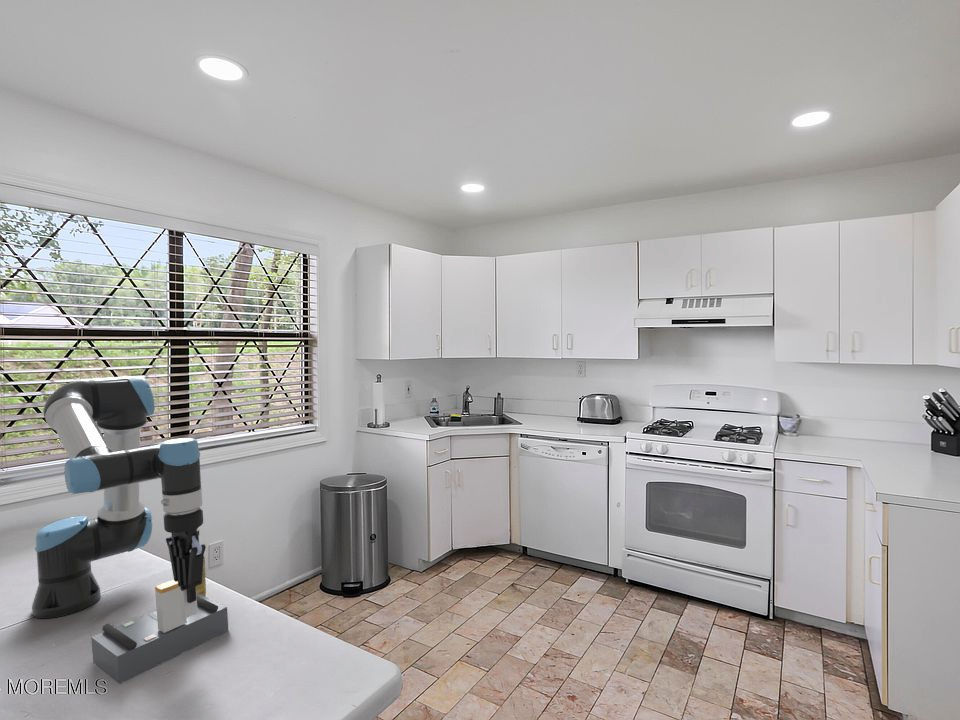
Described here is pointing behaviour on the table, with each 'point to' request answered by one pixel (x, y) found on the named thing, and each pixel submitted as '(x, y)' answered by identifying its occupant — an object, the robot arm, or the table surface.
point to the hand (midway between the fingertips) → (189, 614)
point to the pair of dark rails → (131, 643)
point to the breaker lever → (169, 606)
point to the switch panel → (155, 641)
